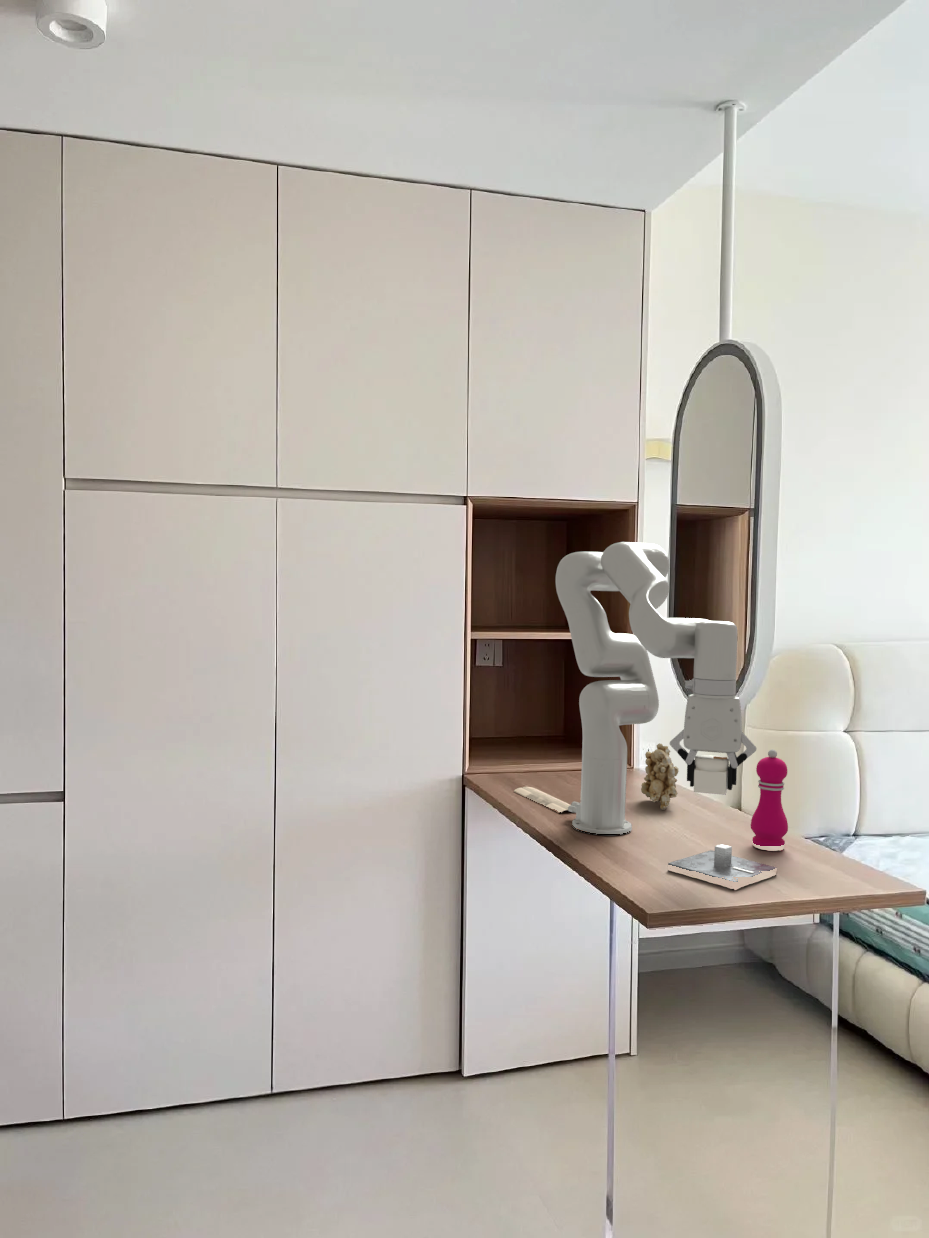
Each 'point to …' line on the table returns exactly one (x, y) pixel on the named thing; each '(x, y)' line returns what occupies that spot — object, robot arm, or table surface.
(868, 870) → the table surface
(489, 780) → the table surface
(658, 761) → the mineral formation
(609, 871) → the table surface
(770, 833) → the pepper mill
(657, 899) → the table surface
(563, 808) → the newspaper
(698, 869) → the grey thin square slab
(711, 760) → the knob
